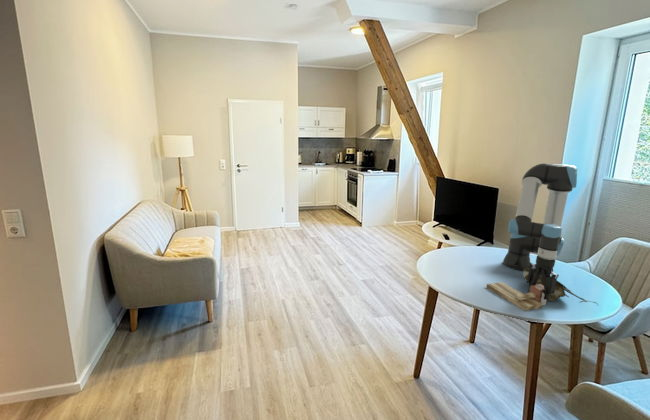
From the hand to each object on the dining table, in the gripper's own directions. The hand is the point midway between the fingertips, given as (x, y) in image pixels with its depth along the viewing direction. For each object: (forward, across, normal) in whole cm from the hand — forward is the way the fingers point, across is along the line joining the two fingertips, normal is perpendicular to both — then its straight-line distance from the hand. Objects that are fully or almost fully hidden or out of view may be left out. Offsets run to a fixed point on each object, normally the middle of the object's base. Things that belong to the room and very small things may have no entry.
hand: (537, 301), depth 164 cm
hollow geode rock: (0, -9, +14) cm, 17 cm away
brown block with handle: (0, 0, -5) cm, 5 cm away
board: (0, -7, -8) cm, 11 cm away
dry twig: (+1, -2, +26) cm, 26 cm away
